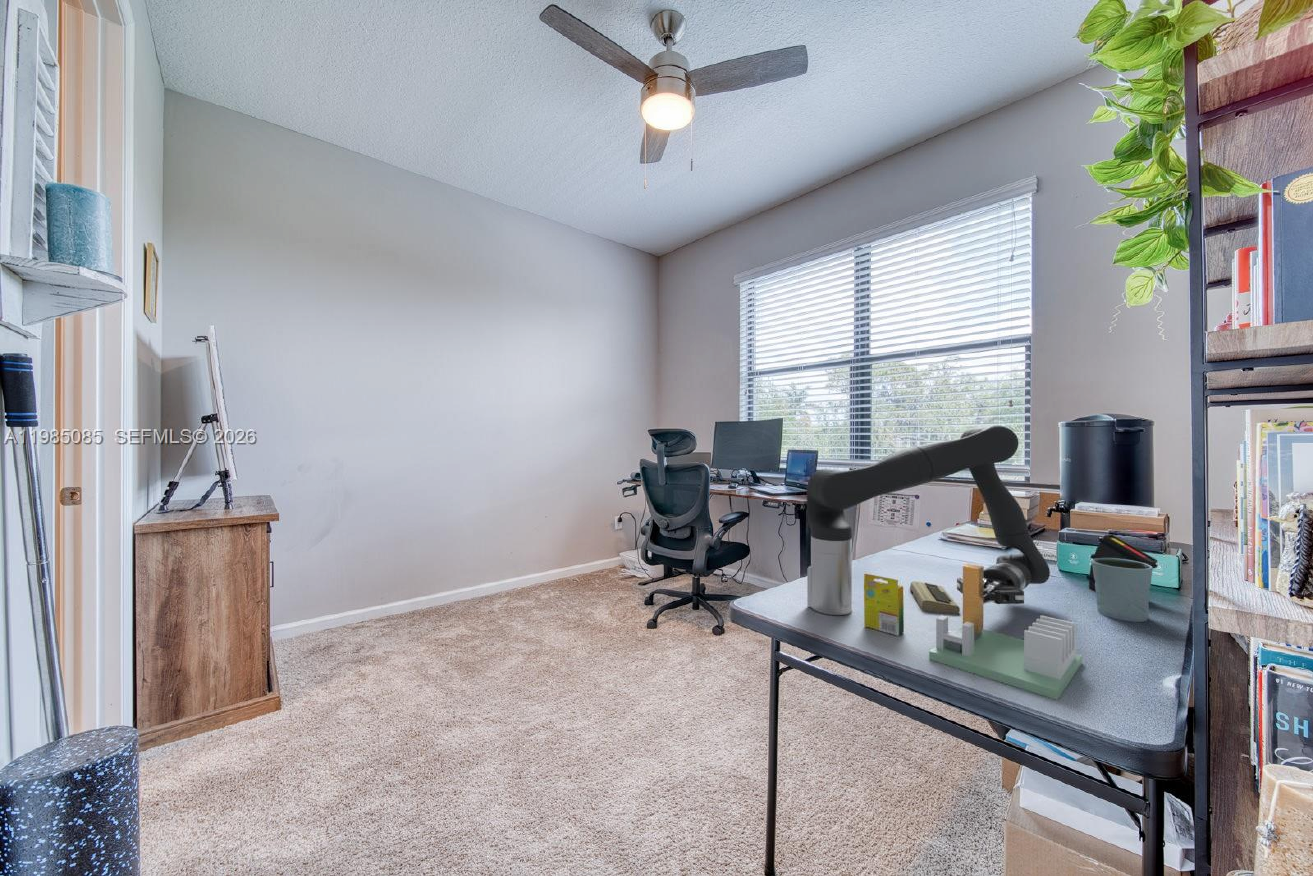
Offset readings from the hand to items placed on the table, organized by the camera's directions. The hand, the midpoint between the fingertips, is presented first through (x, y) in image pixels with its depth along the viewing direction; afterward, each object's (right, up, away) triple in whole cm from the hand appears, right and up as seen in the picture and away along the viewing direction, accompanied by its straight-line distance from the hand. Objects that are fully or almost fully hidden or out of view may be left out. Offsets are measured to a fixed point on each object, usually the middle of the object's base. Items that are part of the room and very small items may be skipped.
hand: (975, 599), depth 101 cm
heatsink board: (0, -9, -8) cm, 12 cm away
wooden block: (-4, -7, -4) cm, 9 cm away
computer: (+5, -9, +24) cm, 26 cm away
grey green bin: (+42, -8, +14) cm, 46 cm away
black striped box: (+55, -8, +27) cm, 62 cm away
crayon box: (-16, -9, +6) cm, 19 cm away
